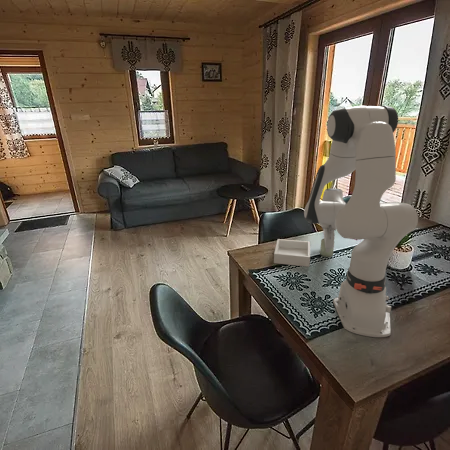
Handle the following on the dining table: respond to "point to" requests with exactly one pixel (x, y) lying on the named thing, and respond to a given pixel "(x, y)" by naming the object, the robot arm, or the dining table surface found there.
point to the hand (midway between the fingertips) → (326, 248)
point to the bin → (292, 252)
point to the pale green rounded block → (323, 252)
